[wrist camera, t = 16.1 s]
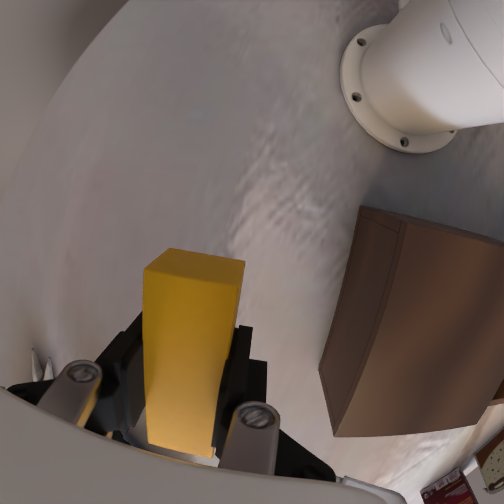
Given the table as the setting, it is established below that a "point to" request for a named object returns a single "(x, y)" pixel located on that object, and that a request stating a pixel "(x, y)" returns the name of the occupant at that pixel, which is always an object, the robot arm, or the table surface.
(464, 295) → the cabinet
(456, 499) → the supplement box
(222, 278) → the tall yellow pillar
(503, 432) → the food container
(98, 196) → the table surface
